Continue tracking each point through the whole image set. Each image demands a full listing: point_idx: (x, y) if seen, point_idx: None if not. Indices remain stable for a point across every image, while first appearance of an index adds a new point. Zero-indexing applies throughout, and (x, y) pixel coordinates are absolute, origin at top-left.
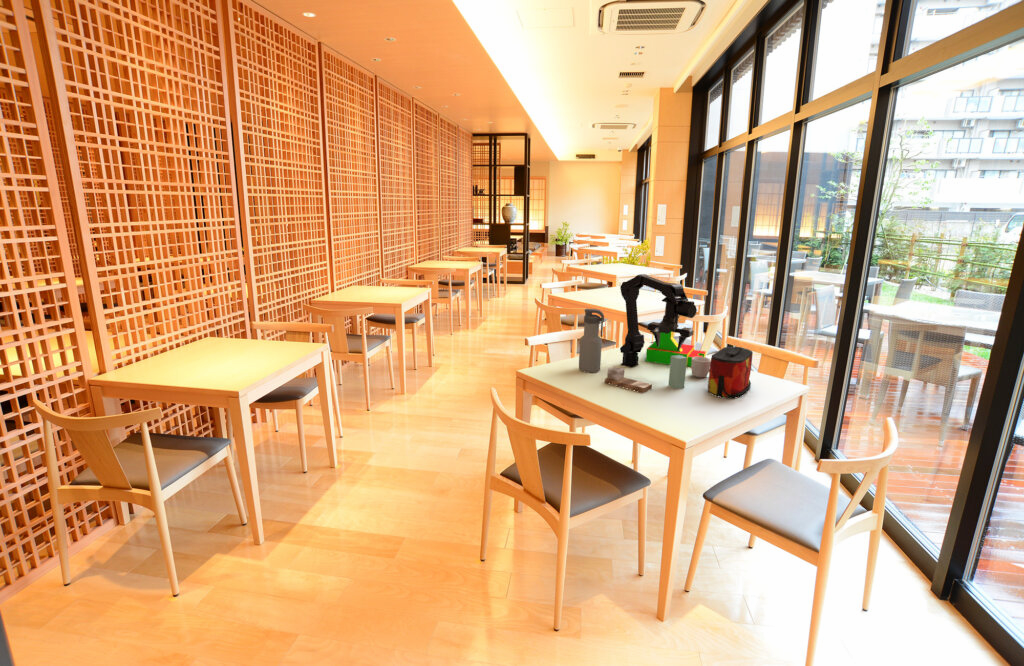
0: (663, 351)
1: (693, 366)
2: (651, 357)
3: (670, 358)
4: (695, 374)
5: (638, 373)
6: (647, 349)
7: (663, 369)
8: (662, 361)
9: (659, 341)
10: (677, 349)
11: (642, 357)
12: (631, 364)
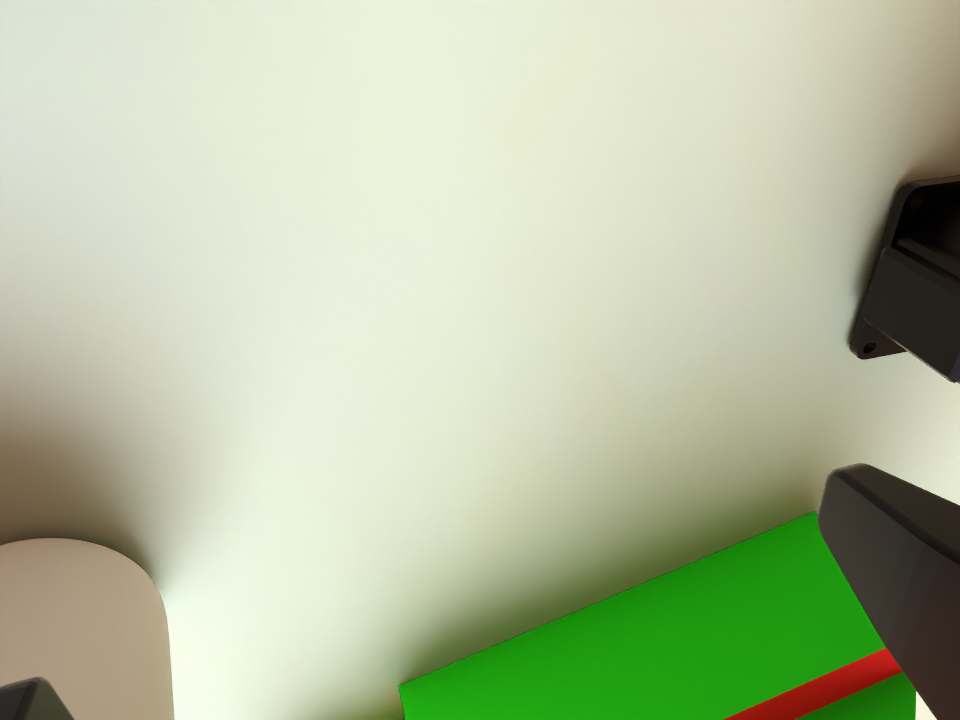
0: (720, 713)
1: (53, 649)
2: (792, 575)
3: (596, 680)
4: (23, 555)
5: (753, 4)
6: None
7: (544, 451)
8: (657, 602)
9: (932, 689)
10: (16, 714)
11: None
12: (941, 226)
